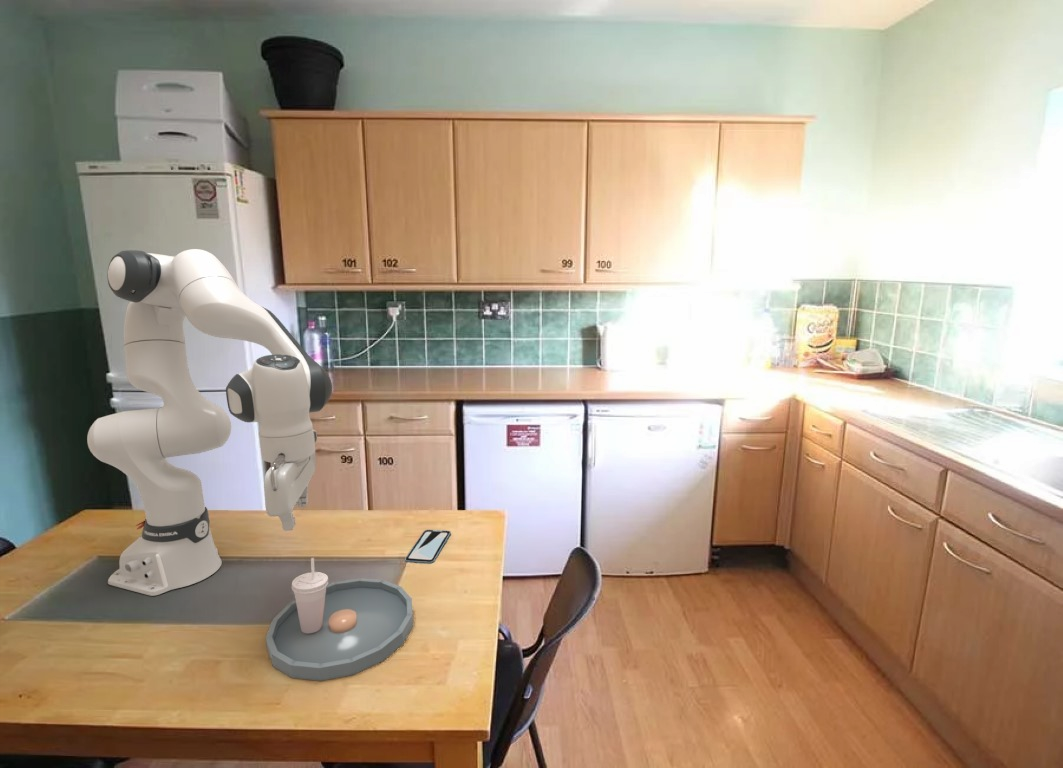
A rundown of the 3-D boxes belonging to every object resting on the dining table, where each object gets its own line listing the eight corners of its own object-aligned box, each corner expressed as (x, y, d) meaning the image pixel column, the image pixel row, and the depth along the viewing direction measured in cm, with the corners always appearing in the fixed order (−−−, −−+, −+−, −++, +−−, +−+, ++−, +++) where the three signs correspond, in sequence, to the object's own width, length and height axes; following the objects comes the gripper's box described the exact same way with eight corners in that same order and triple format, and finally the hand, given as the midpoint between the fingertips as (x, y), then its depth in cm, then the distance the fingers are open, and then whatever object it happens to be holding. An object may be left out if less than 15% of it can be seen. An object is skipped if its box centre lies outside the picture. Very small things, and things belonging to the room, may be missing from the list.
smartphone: (403, 560, 125) (424, 529, 140) (403, 564, 126) (425, 532, 140) (433, 562, 124) (451, 530, 139) (433, 566, 125) (452, 534, 139)
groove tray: (236, 671, 91) (234, 659, 91) (317, 585, 117) (315, 574, 116) (379, 687, 88) (378, 674, 87) (430, 593, 113) (430, 583, 112)
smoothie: (324, 637, 98) (322, 566, 96) (288, 638, 97) (285, 567, 95) (333, 617, 104) (331, 549, 102) (299, 618, 104) (296, 550, 102)
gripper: (291, 464, 86) (300, 542, 89) (318, 428, 106) (325, 493, 109) (249, 467, 85) (259, 546, 88) (284, 430, 105) (292, 495, 107)
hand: (296, 516), depth 98 cm, fingers open, 8 cm apart
